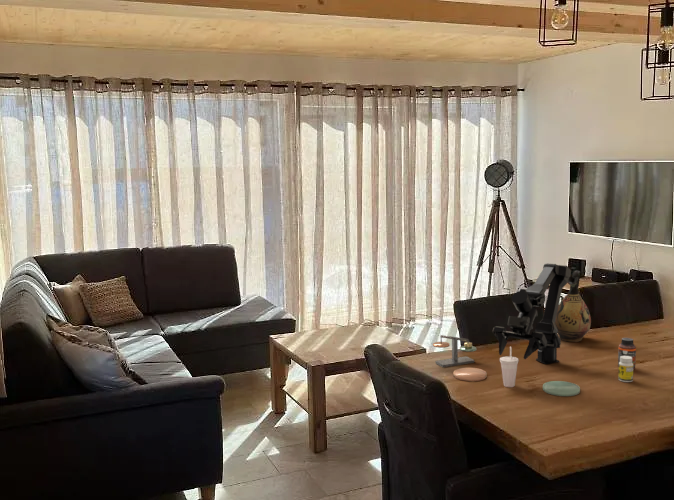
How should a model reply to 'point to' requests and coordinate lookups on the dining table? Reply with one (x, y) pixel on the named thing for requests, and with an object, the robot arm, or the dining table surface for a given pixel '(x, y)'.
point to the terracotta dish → (470, 374)
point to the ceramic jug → (573, 313)
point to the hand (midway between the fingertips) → (512, 356)
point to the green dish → (561, 388)
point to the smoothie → (509, 369)
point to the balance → (455, 352)
